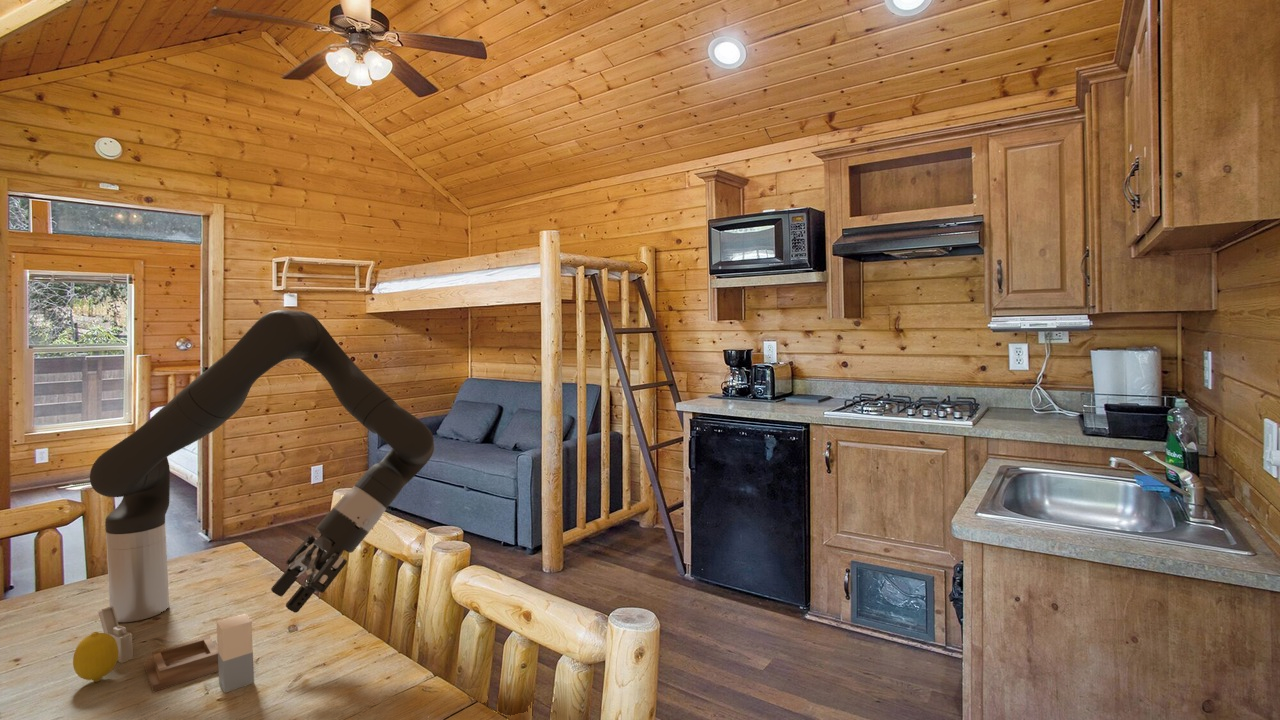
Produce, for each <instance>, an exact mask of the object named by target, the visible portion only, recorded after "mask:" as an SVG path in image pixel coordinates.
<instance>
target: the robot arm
mask: <svg viewBox="0 0 1280 720" xmlns="http://www.w3.org/2000/svg"><path fill="white" fill-rule="evenodd" d="M286 360H301V361H303V362H305V363H307V364H308V365H309V366H311V367H312V368H314V369H315V370H316V371H317V372H318V373H320V374H321V376H323V377H324V378H325V379H326V381H327V382H328V384H329V385H330V387H331V389H332V391H333V393H334V395H335V396H336V399H338V401H339V403H340V404H341V405H342V406H343V408H344V409H345V410H346V411H347V412H348V413H349V414H350V415H351V416H353V418H354V419H356V420H357V421H358V422H359V423H360V424H361V425H362V426H363V427H365V429H367V430H368V431H370V432H371V433H373V434H376V435H378V436H379V437H380V438H381V439H382V440H383V441H384V442H385V443H387V445H388V446H389V447H391V449H390V451H388V453H387V454H386V455H384V457H383V458H382V459H381V461H379V462H376V463H374V464H373V465H372V466H370V467H369V468H368V469H367V470H366V471H365V472H364V474H363V475H362V476H360V478H359V479H358V480H357V482H356V483H355V484H354V485H353V486H352V487H351V489H349V490H348V491H347V492H346V493H345V494H344V495H343V496H342V497H341V498H340V499H339V500H338V502H336V504H335V505H334V506H333V507H332V508H331V509H330V511H329V512H327V514H326V515H325V516H324V518H323V519H322V520H321V521H320V522H319V524H318V525H317V526H316V528H315V529H316V531H317V533H319V534H320V536H318V538H317V537H315V536H314V535H312V534H310V535H308V536H307V538H306V539H305V540H303V542H302V543H301V544H300V545H299V546H298V548H297V549H295V551H294V552H293V553H292V554H291V555H290V556H289V557H288V559H287V560H286V561H285V564H286V565H287V566H286V568H285V572H284V573H282V575H281V576H280V577H279V578H278V580H276V582H275V583H274V584H273V585H272V586H271V588H270V590H271V592H272V593H274V594H275V595H277V596H279V597H283V596H284V595H285V594H286V593H287V591H288V590H290V588H291V586H293V584H294V583H295V582H296V580H297V579H298V577H300V576H302V575H304V573H306V577H305V579H304V581H303V584H302V585H301V586H299V588H297V590H296V592H294V593H293V595H292V596H291V597H290V599H288V601H287V602H286V604H285V607H286V608H287V609H288V610H289V611H291V612H292V613H294V614H295V613H298V612H299V611H300V610H301V609H302V608H303V606H304V605H305V604H306V603H307V602H308V601H309V599H310V598H311V596H312V595H313V594H316V593H321V594H323V593H324V592H326V590H327V589H328V588H329V587H330V585H331V584H332V583H333V581H334V580H335V579H336V577H337V576H338V575H339V574H340V573H341V571H342V570H343V568H344V567H345V566H346V564H347V563H348V560H347V559H345V558H344V557H343V556H341V555H342V553H343V552H344V551H345V552H347V553H349V554H351V553H353V552H354V551H355V550H357V549H356V548H357V547H358V546H359V545H360V544H361V543H362V541H363V540H364V539H365V538H366V537H367V535H368V534H369V533H371V530H372V529H373V528H374V527H375V525H376V524H377V523H378V522H379V520H380V519H381V518H382V516H383V515H384V513H385V512H386V510H387V508H389V506H390V505H391V504H392V503H393V502H394V501H395V499H396V498H397V496H398V495H399V494H400V492H401V491H402V490H403V488H404V487H405V486H406V485H407V484H408V483H409V482H410V481H411V480H412V479H413V478H414V477H415V476H416V475H418V473H419V472H421V470H422V469H423V468H424V467H425V465H427V463H428V462H429V461H430V459H431V458H432V456H433V454H434V450H435V443H434V442H435V440H434V436H433V433H432V431H431V429H430V428H428V426H427V425H426V424H425V423H423V421H422V420H420V419H418V418H417V417H416V416H414V415H413V414H412V413H410V412H409V411H407V410H406V409H405V408H403V407H402V406H400V405H399V403H397V402H396V401H395V400H394V399H393V398H392V397H391V396H389V394H387V393H386V392H385V391H384V389H382V388H381V387H380V386H378V385H377V384H376V383H375V382H374V381H373V380H372V379H371V378H370V377H369V376H367V374H365V373H364V372H363V371H362V370H361V368H359V366H357V364H355V363H354V362H353V360H352V359H351V358H350V357H349V355H347V353H346V352H345V351H344V350H343V349H342V347H341V346H340V345H339V344H338V343H337V341H336V340H335V339H334V338H333V336H332V335H331V334H330V332H329V331H328V330H327V329H326V327H325V326H324V325H323V324H322V323H321V322H320V320H319V319H318V318H317V317H316V316H314V315H312V314H311V313H310V312H306V311H302V310H288V309H287V310H286V309H277V310H276V309H275V310H273V311H270V312H268V313H266V314H264V315H262V316H261V317H260V318H259V319H258V320H257V321H255V323H254V324H253V325H252V326H251V327H250V328H249V329H248V330H247V331H246V332H245V334H244V335H243V336H241V338H240V339H239V340H238V341H237V343H235V344H234V346H232V348H230V349H229V351H227V352H226V353H225V354H224V355H222V357H221V358H219V359H218V360H217V361H215V362H214V363H213V364H212V365H211V366H210V367H208V368H207V369H206V370H204V372H202V374H200V375H199V376H198V377H196V378H195V379H193V381H191V382H190V383H189V384H188V385H187V386H185V387H184V388H183V389H182V390H181V391H179V392H178V393H177V394H176V395H175V396H174V397H173V398H172V399H171V400H170V401H169V402H168V403H167V404H165V405H164V406H163V407H162V408H160V409H159V410H158V411H156V412H155V414H154V415H153V416H151V417H150V418H149V419H148V420H146V422H145V423H143V425H141V426H140V427H139V428H137V430H135V431H134V432H132V433H131V434H129V435H128V436H126V437H125V438H124V439H122V440H121V441H119V442H117V443H116V444H115V445H113V446H112V447H110V448H108V449H107V450H106V451H104V452H103V453H102V454H101V455H99V456H98V457H97V458H96V460H95V462H94V463H93V464H92V466H91V469H90V473H89V482H90V486H91V487H92V489H93V490H94V491H95V492H96V493H97V494H99V495H101V496H104V497H107V498H121V497H122V499H121V501H120V503H118V505H117V507H116V508H115V509H114V510H113V511H112V512H110V513H109V514H108V515H107V516H106V517H105V522H104V523H105V525H104V526H105V541H106V543H105V544H106V558H107V561H106V562H107V574H108V576H107V577H108V579H107V580H108V595H109V596H108V597H109V598H108V599H109V600H108V602H109V607H111V606H113V607H114V610H115V614H116V617H117V621H118V623H131V622H137V621H142V620H145V619H149V618H153V617H155V616H157V615H160V614H162V613H164V612H165V611H167V610H168V609H169V607H170V596H169V595H170V593H169V592H170V591H169V590H170V589H169V572H168V571H169V570H168V554H167V552H168V550H167V547H168V546H167V532H166V531H167V530H166V515H167V512H168V510H169V506H170V499H171V498H170V494H171V493H170V492H171V491H170V490H171V489H170V488H171V485H170V484H171V483H170V482H171V473H170V471H171V470H170V469H171V468H170V462H169V459H168V457H169V456H170V455H173V454H174V453H176V452H179V451H180V450H182V449H183V448H186V447H187V446H189V445H191V444H193V443H195V442H197V441H199V440H201V439H202V438H204V437H206V436H208V435H210V434H211V433H212V432H214V431H215V430H216V429H218V428H219V427H221V426H222V425H223V424H224V423H226V422H227V420H229V419H230V418H232V416H234V414H236V413H237V412H238V411H239V410H240V408H241V407H242V406H243V405H244V403H245V401H246V400H247V397H248V396H249V392H250V391H251V387H252V386H253V384H255V382H256V381H257V380H258V379H259V378H260V377H262V376H263V375H264V374H265V373H267V372H268V371H269V370H271V369H272V368H273V367H275V366H277V365H278V364H279V363H281V362H283V361H286ZM167 608H168V609H167ZM166 609H167V610H166ZM164 610H165V611H164ZM163 611H164V612H163ZM161 612H162V613H161Z"/></svg>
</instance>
